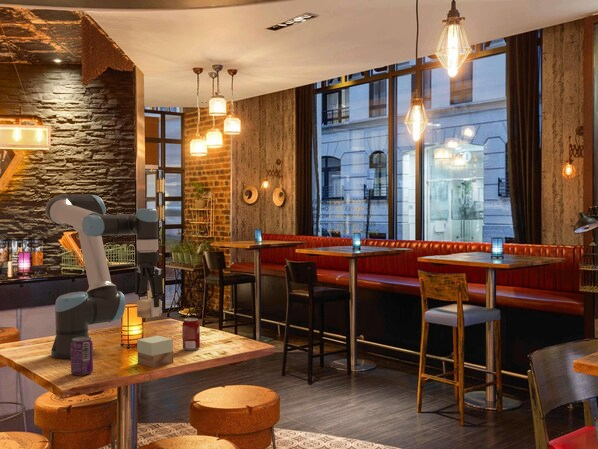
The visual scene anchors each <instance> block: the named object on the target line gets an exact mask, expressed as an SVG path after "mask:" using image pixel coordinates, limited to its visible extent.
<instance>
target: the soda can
mask: <svg viewBox="0 0 598 449" xmlns="http://www.w3.org/2000/svg"><path fill="white" fill-rule="evenodd" d="M181 326H182V327H181V328H182V329H181V330H182V338H181V339H182V350H185V351H188V352H191V351H193V352H194V351H198V349H200V348H201V337H200V336H201V335H200V334H201V330H200V328H201V325H200V322H199V318H197V317H187V318H184V319H183V322H182V325H181Z"/></svg>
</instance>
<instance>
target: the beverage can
mask: <svg viewBox="0 0 598 449" xmlns="http://www.w3.org/2000/svg"><path fill="white" fill-rule="evenodd" d="M93 344H94V343H93V341H92V337H90V336H89V337H76V338H73V339H72V343H71V359H70V373H71V374H73V375H75V376H86V374H87V375H89V374H91V373H92V372H93V371H94V345H93Z"/></svg>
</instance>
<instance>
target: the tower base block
mask: <svg viewBox="0 0 598 449" xmlns="http://www.w3.org/2000/svg"><path fill="white" fill-rule="evenodd" d="M173 363H174V350H173V351H172V352H168V353H163V354H159V355H154V356H150V355H146V354H143V353H139V352H137V364H138V365H142V366H144V367H145V366H146V367H150V368H153V369H154V368H159V367H161V366H167V365H169V364H173Z"/></svg>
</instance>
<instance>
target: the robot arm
mask: <svg viewBox="0 0 598 449" xmlns="http://www.w3.org/2000/svg"><path fill="white" fill-rule="evenodd" d="M106 213H107V209H106V205H105V203H104V200H103V199H102V197H100V196H98V195H96V194H89V193H87V194H59V195H55V196H53V197H51V198H50V199H49V200H48V201H47V202H46V204H45V215H46V217H47V218H48V220H50V221H51V222H53V223H56V224H59V225H63V224H65V225H69V226H72V229H73V230H74V231H76V232H77V234H78V237H79V243H80V248H81V252H82V258H83V262H84V263H83V264H84V267H85V272H86V273H85V274H86V278H87V281H88V283H87V284H88V289H87V290H86V291H73V292H68V293H65V294H61V295H59V296H58V297H57V298H56V300H55V307H54V312H55V314H54V315H55V336H54V341H53V343H52V346H51V351H50V352H51V355H50V356H51V358H53V359H58V360H59V359H60V360H61V359H62V360H71V343H72V339H73V338H76V337H90V335H89V326H90V325H97V324H104V323H111V322H114V321H118V320H120V319H121V318H122V317H123V316H124V314H125V311H126V298H125V295H124V294H123V292H122V291H120V290H118V289H117V285H116V284H114V283H113V282H112V279H111V274H110V270H109V267H108V266H109V265H108V259H107V256H106V250H105V246H104V242H103V237H105V236H133V235H136V251H138V252H137V253H136V254H137V255H136V256H137V259H136V261H137V263H139V266H138V267H134V275H135V276H134V278H135V279H134V280H135V282H134V283H135V284H134V285H135V286H134V294H135V295H137V296H138V298H139V299H138V300H142V299H148V294H147V290H148V289H147V288H148V283H149V287H150V292H151V296H150V298H151V317H153V318H157V317H156V316H159V299H161V297H163V296H164V287H163V286H164V285H163V268H158V265H157V263H159V261H160V254H159V252H158V251H159V218H158V210H157V209H156V208H138V209H136V212H135V214H133V213H125V214H106ZM159 317H160V316H159Z"/></svg>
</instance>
